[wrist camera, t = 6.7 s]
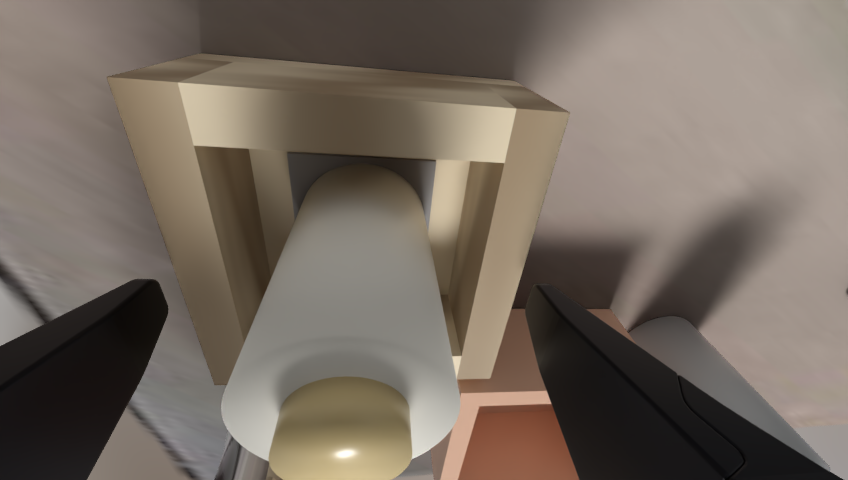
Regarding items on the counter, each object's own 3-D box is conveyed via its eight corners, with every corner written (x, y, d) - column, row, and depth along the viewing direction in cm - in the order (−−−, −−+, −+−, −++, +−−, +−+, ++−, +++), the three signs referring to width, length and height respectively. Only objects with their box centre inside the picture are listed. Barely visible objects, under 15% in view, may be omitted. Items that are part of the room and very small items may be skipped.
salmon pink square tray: (610, 308, 17) (669, 387, 14) (560, 408, 21) (595, 487, 18) (443, 308, 16) (461, 393, 12) (426, 413, 20) (435, 498, 17)
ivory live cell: (430, 167, 11) (490, 375, 5) (418, 270, 13) (450, 507, 7) (295, 159, 11) (167, 382, 4) (306, 268, 13) (231, 522, 6)
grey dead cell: (707, 316, 18) (879, 480, 12) (670, 367, 20) (800, 530, 14) (634, 316, 18) (774, 487, 11) (604, 369, 20) (708, 538, 13)
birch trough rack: (513, 80, 11) (570, 112, 8) (467, 300, 16) (490, 378, 13) (200, 53, 10) (106, 77, 7) (253, 299, 15) (214, 385, 11)
